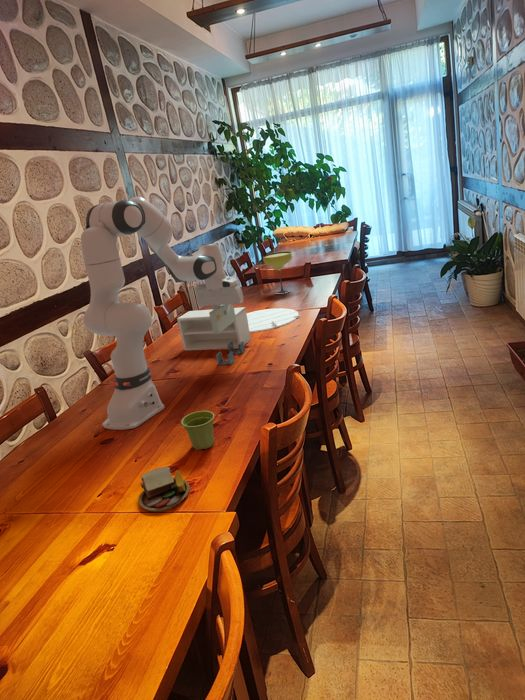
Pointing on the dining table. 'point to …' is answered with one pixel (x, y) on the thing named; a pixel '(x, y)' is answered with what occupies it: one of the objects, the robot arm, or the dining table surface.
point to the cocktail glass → (278, 262)
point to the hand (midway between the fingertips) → (222, 314)
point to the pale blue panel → (221, 318)
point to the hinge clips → (230, 354)
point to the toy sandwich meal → (162, 489)
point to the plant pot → (200, 429)
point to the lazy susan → (270, 318)
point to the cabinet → (201, 335)
